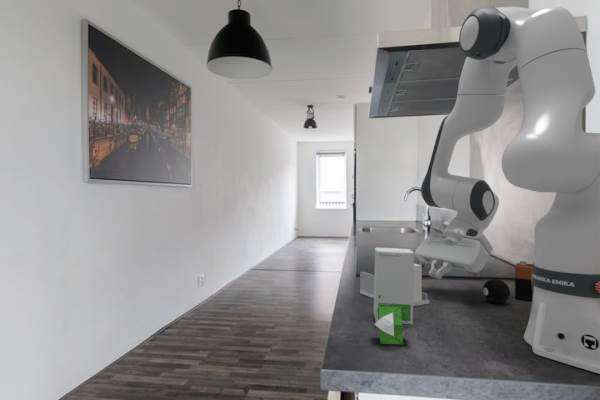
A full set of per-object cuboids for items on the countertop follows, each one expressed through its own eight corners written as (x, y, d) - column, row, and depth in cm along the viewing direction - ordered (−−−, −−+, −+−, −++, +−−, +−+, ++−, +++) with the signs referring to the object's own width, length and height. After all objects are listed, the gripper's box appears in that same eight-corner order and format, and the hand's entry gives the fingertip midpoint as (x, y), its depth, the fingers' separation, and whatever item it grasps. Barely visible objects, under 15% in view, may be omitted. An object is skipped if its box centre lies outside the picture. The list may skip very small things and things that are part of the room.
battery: (545, 303, 94) (545, 264, 94) (514, 299, 98) (514, 261, 98) (546, 299, 97) (546, 262, 97) (516, 295, 101) (516, 259, 101)
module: (421, 301, 92) (421, 262, 92) (402, 304, 90) (402, 264, 90) (410, 297, 96) (410, 260, 96) (392, 299, 94) (392, 262, 93)
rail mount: (429, 303, 94) (429, 280, 94) (398, 308, 89) (398, 284, 89) (388, 289, 108) (388, 268, 108) (360, 293, 104) (360, 271, 104)
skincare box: (374, 322, 80) (374, 251, 79) (373, 313, 86) (373, 246, 86) (414, 324, 78) (415, 251, 78) (410, 314, 85) (410, 247, 85)
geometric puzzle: (369, 320, 75) (372, 295, 70) (404, 321, 74) (408, 296, 69) (372, 353, 69) (375, 329, 64) (409, 354, 69) (415, 330, 64)
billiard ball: (478, 299, 97) (478, 277, 97) (499, 299, 98) (499, 276, 98) (492, 306, 91) (492, 282, 91) (514, 305, 92) (515, 282, 92)
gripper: (425, 227, 110) (400, 262, 105) (487, 233, 91) (460, 276, 87) (436, 241, 112) (412, 276, 107) (499, 250, 93) (472, 292, 89)
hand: (434, 276), depth 97 cm, fingers closed
